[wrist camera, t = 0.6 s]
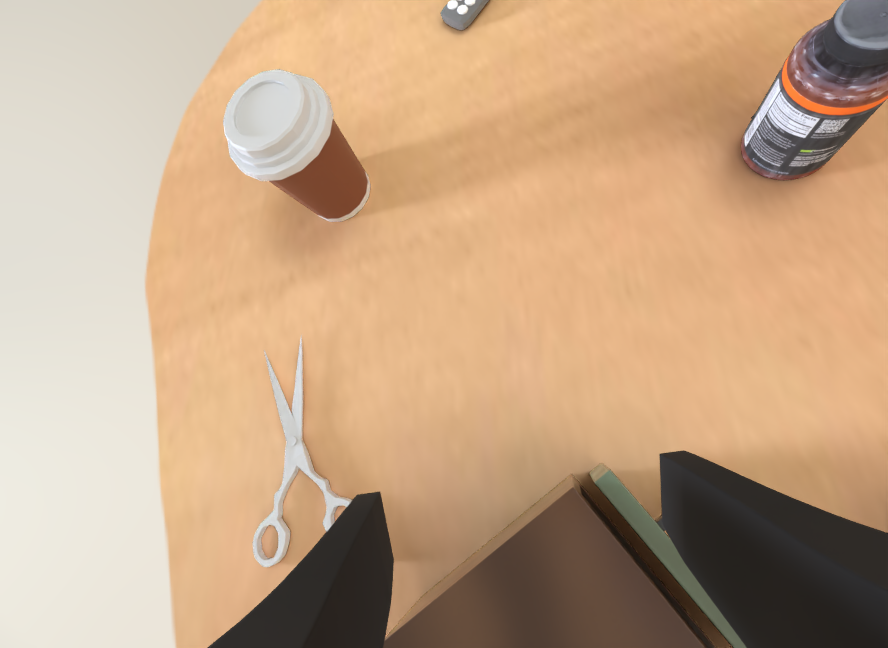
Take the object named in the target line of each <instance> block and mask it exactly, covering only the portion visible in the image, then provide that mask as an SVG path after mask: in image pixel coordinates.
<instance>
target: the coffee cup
mask: <svg viewBox="0 0 888 648" xmlns="http://www.w3.org/2000/svg"><path fill="white" fill-rule="evenodd" d="M333 115H334V114H333V110H332V106H331V102H330V98H329V96H328V95H327V93H326V92H325V91H324V90H323V89H322V88H321V87H320V86H319V85H318V84H317V83H316V82H315V81H314V79H311V78H308V77H304V76H301V75H297V74H293V73H291V72H287V71H284V70H280V69H277V70H271V71H264V72H261V73H259V74H257V75H255V76H253V77H251V78H250V79H248V80H247V81H246V82H245V83H244V84H243V85H241V86H240V87H239V88H238V89H237V90H236V91H235V93H234V95H233V96H232V98H231V100H230V101H229V103H228V105H227V108H226V112H225V116H224V120H223V124H224V131H225V137H226V138H227V140H228V147H229V153H230V157H231V158H232V160H233V161H234V162H235V164H236V165H237V166H238V168H239V169H240V170H241V171H242V172H243V173H244V174H246V175H248V176H250V177H253V178H255V179H257V180H260V181H270V182H271V183H272V184H274V185H275V186H277V187H278V188H280V189H281V190H283V191H284V192H285V193H287V194H288V195H290V196H291V197H293V198H294V199H296V200H297V201H298V202H300V203H301V204H303V205H304V206H306V207H307V208H309V209H310V210H311V211H313V212H314V213H316V214H317V215H318V216H320V217H321V218H323V219H325V220H327V221H330V222H339V221H344V220H346V219H349V218H351V217H353V216H354V215H355V214H356V213H358V212H359V211H360V210H361V209H362V208H363V206H364V205H365V203H366V201H367V199H368V197H369V192H370V186H371V185H370V181H369V177H368V174H367V173H366V172H365V170H364V169H363V167H362V165H361V164H360V162H359V161H358V159H357V157H356V156H355V154H354V152H353V151H352V149H351V147H350V146H349V144H348V142H347V141H346V139H345V138H344V136H343V134H342V133H341V131H340V129H339V128H338V126H337V124H336V123H335V121H334V119H333Z"/></svg>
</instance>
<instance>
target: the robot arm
mask: <svg viewBox="0 0 888 648" xmlns="http://www.w3.org/2000/svg"><path fill="white" fill-rule="evenodd" d="M660 476H661V503H662V524H663V526H664V528H665V530H666V531H667V533H668V535H669V537H670V539H671V541H672V542H673V544H674V546H675V548H676V549H677V551H678V553H679V554H680V556H681V558H682V560H683V561H684V563H685V564H686V566H687V567H688V569H689V570H690V571H691V573H692V574H693V575H694V577H695V578H696V580H697V581H698V582H699V584H700V585H701V586H702V588H703V589H704V591H705V592H706V593H707V595H708V596H709V597H710V599H711V600H712V601H713V603H714V604H715V605H716V607H717V608H718V610H719V611H720V612H721V614H722V615H723V616H724V618H725V619H726V620H727V622H728V623H729V624H730V626H731V627H732V628H733V630H734V631H735V632H736V634H737V635H738V637H739V638H740V639H741V641H742V642H743V643H744V645H745V646H746V647H747V648H888V533H885V532H883V531H880V530H877V529H874V528H871V527H868V526H865V525H862V524H859V523H856V522H853V521H850V520H848V519H845V518H842V517H839V516H837V515H834V514H831V513H829V512H826V511H824V510H821V509H819V508H816V507H814V506H811V505H809V504H806V503H804V502H801V501H799V500H796V499H794V498H791V497H789V496H787V495H784V494H782V493H780V492H777V491H775V490H773V489H770V488H768V487H766V486H764V485H761V484H759V483H757V482H755V481H752V480H750V479H748V478H746V477H744V476H741V475H739V474H737V473H735V472H733V471H730V470H728V469H726V468H724V467H722V466H719V465H717V464H715V463H713V462H711V461H708V460H706V459H704V458H701V457H699V456H697V455H694V454H692V453H689V452H686V451H677V452H670V453H662V454H660ZM393 563H394V558H393V553H392V548H391V543H390V538H389V533H388V528H387V523H386V518H385V513H384V509H383V504H382V499H381V494H380V492H375V493H367V494H360V495H356V497H355V498H354V499H353V500H352V501H351V503H350V504H349V505H348V506H347V508H346V509H345V510H344V511H343V512H342V514H341V515H340V516H339V517H338V519H337V520H336V521H335V522H334V524H333V525H332V526H331V527H330V528H329V530H328V531H327V532H326V533H325V535H324V536H323V537H322V538H321V539H320V540H319V542H318V543H317V544H316V545H315V546H314V548H313V549H312V550H311V551H310V552H309V553H308V554H307V555H306V556H305V557H304V559H303V560H302V561H301V562H300V563H299V564H298V565H297V566H296V567H295V568H294V569H293V570H292V572H291V573H290V574H289V575H288V576H287V577H286V578H285V579H284V580H283V581H282V582H281V583H280V584H279V585H278V586H277V587H276V588H275V589H274V590H273V591H272V592H271V593H270V594H269V595H268V596H267V597H266V598H265V599H264V600H263V601H262V602H261V603H259V604H258V605H257V606H256V607H255V608H254V609H253V610H252V611H251V612H250V613H249V614H247V615H246V616H245V617H244V618H243V619H242V620H241V621H240V622H238V623H237V624H236V625H235V626H234V627H232V628H231V629H230V630H229V631H227V632H226V633H225V634H224V635H222V636H221V637H220V638H219V639H218V640H216V641H215V642H214V643H213V644H211V645H210V646H209V647H208V648H383V645H384V640H385V634H386V628H387V622H388V617H389V611H390V605H391V596H392V582H393Z"/></svg>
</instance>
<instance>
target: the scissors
mask: <svg viewBox="0 0 888 648" xmlns="http://www.w3.org/2000/svg"><path fill="white" fill-rule="evenodd" d="M264 352H265V351H264ZM265 356H266V361H267V365H268V370H269V374H270V378H271V383H272V387H273V391H274V395H275V400H276V404H277V408H278V412H279V415H280V419H281V423H282V426H283V430H284V434H285V438H286V441H287V443H286V448H285V465H284V473H283V483H282V485H281V487H280V489H279V490H278V491H277V493H276V494H275V495H274V510H273V511H272V513H271V514H270V515H269V516H268V517H267V518H266V519H265V520H264V521H262V522H261V524H260V525H259V527H258V529H257V531H256V533H255V535H254V539H253V553H254V556H255V559H256V560H257V561H258V563H259V564H261V565H262V566H263V567H269V566H272V565H274V564H277V563H279V562H280V560H281V559H282V558H283V557H284V556H285V555H286V552H287V548H288V545H289V541H290V530H289V528H288V527H287V525H286V524H285V522H284V521H283V519H282V515H283V501H284V498H285V495H286V493H287V491H288V488H289V486H290V484H291V482H292V481H293V479H294V478H295V476H296V475H297V472H298V470H299V468H300V469H301V470H302V471H303V472H304V473H305V474H306V475H307V476H309V477H310V478H311V479H312V480H313V481H314V482H315V483H316V484H317V485H318V486H319V487H320V488H321V490H322V492H323V493H324V497H325V501H326V506H327V510H326V514H325V517H324V521H323V526H324V528H325V530H326V532H327V531H328V530H329V528H330V527H331V526H332V525H333V524H334V522H335V518H334V513H335V511H336V509H337V507H338V506H341V505H344V506H346V507H347V506H348V505H349V504H350V503H351V501H352V500H351V499H349V498H346V497H339V496H338V495H336V494H335V493H334V492H333V491H331V489H330V485H329V480H327V479H325V478H322V477H320V476H319V475H318V474H317V473H316V472H315V471H314V468H313V465H312V462H311V459H310V456H309V453H308V450H307V448H306V446H305V444H304V442H303V440H302V427H303V350H302V337H301V340H300V347H299V355H298V363H297V371H296V380H295V390H294V397H293V404H292V414H291V411H290V409H289V407H288V404H287V402H286V399H285V397H284V394H283V392H282V390H281V387H280V385H279V383H278V380H277V378H276V376H275V374H274V371H273V369H272V367H271V364H270V362H269V360H268V357H267V355H266V353H265ZM269 525H273V526H274V527H275V528H276V530H277V532H278V549H277V552H276V554H275V557H274V558H268V557H267V556H265V554H264V552H263V550H262V541H261V538H262V536H263V534H264V532H265V530H266V528H267V527H268V526H269Z"/></svg>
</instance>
